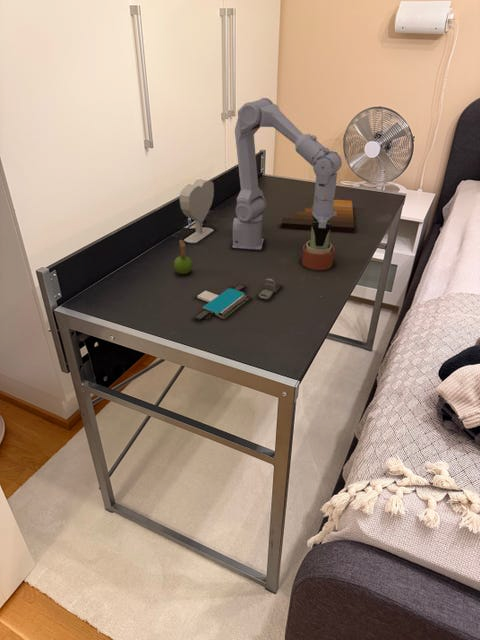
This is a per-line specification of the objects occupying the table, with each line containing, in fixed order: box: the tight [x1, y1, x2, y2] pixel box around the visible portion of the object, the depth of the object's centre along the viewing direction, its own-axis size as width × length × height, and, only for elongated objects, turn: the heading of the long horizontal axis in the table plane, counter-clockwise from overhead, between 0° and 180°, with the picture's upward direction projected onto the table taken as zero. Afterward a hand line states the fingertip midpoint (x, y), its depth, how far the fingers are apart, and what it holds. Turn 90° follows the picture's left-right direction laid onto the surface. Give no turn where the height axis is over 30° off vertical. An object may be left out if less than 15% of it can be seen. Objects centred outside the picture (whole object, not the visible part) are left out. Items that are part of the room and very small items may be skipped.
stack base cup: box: [301, 243, 336, 271], centre depth 144 cm, size 10×10×5 cm
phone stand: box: [195, 284, 250, 321], centre depth 126 cm, size 20×12×2 cm, turn 146°
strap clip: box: [258, 277, 281, 301], centre depth 130 cm, size 8×3×4 cm, turn 150°
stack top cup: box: [305, 240, 333, 254], centre depth 144 cm, size 8×8×6 cm
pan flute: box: [281, 199, 355, 233], centre depth 175 cm, size 25×3×25 cm
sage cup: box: [309, 221, 331, 250], centre depth 141 cm, size 6×6×7 cm
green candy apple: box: [173, 239, 193, 275], centre depth 136 cm, size 5×6×12 cm
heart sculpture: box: [179, 179, 215, 244], centre depth 158 cm, size 16×5×18 cm, turn 152°
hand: (319, 241), depth 142 cm, fingers closed on sage cup, 5 cm apart
